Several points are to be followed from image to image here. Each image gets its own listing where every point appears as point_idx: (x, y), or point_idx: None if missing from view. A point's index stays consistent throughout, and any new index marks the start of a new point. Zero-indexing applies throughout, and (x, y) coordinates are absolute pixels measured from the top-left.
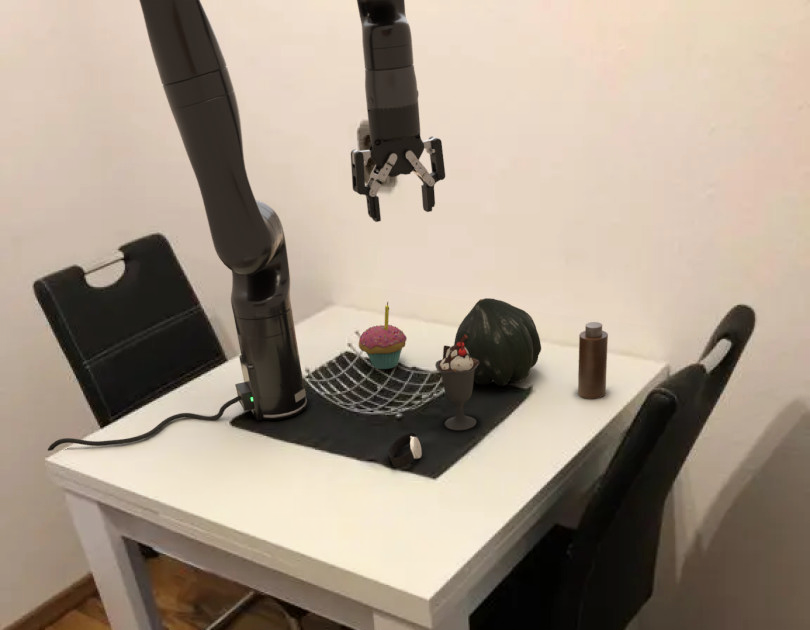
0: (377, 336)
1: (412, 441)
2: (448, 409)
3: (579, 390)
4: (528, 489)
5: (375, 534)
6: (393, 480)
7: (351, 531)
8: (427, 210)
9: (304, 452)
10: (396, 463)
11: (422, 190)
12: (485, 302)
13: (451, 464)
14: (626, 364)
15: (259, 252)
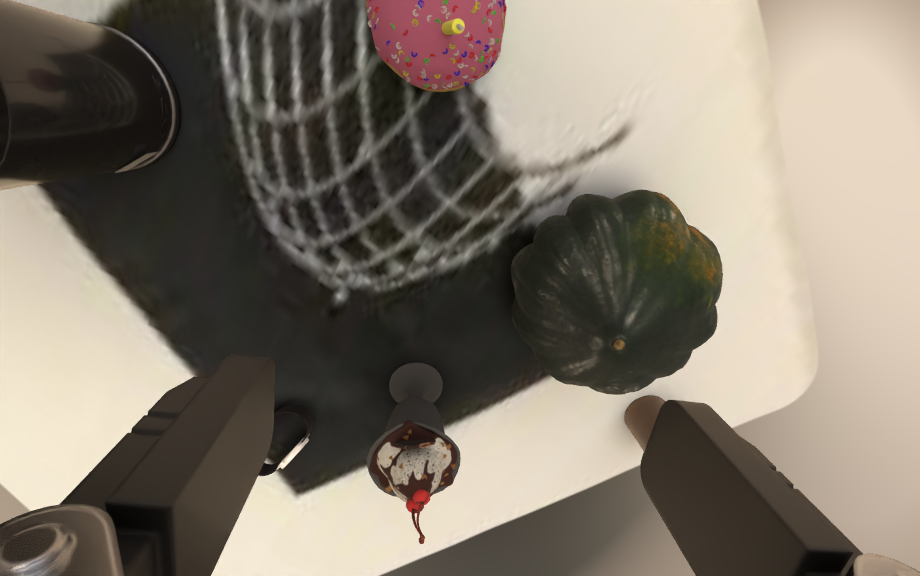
0: (407, 47)
1: (282, 466)
2: (429, 329)
3: (629, 416)
4: (389, 564)
5: None
6: None
7: None
8: (645, 471)
9: (125, 322)
10: None
11: (758, 524)
12: (620, 358)
13: (336, 476)
14: (772, 363)
15: None
